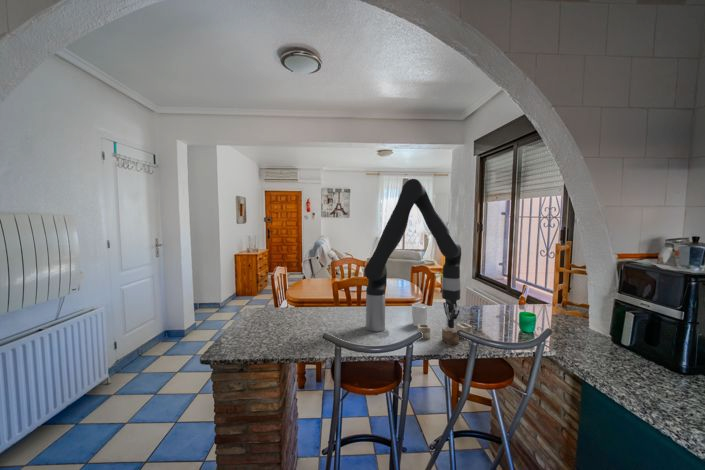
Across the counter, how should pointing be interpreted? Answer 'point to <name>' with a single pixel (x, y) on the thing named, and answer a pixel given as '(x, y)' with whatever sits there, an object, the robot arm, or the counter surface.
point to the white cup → (419, 313)
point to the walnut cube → (450, 336)
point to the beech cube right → (464, 327)
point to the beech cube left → (424, 330)
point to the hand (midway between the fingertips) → (450, 327)
